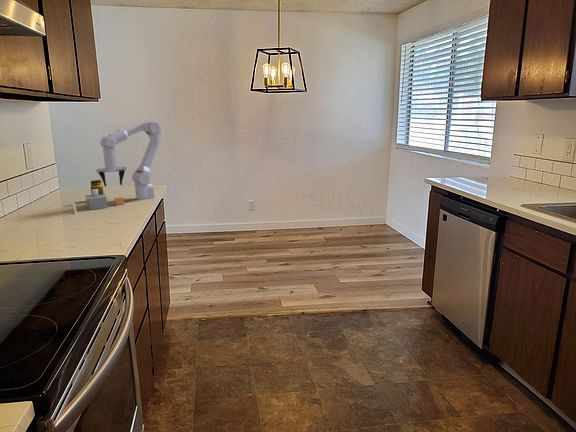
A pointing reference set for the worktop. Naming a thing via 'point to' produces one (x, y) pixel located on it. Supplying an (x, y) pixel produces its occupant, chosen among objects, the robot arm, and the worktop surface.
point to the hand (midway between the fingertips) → (113, 185)
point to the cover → (96, 200)
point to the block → (119, 200)
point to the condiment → (97, 186)
